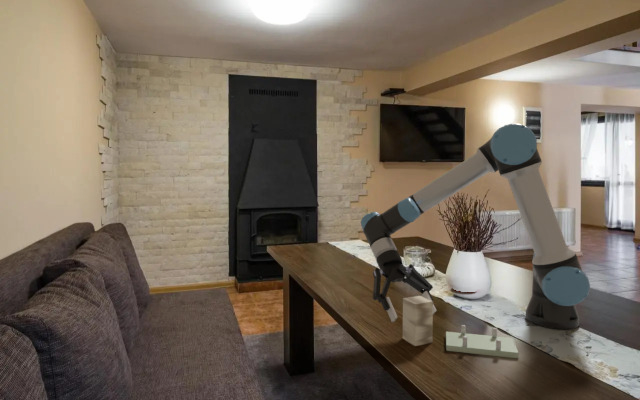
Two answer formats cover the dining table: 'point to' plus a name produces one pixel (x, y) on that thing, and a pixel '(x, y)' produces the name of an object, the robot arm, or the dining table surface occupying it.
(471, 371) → the dining table surface
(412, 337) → the tan block
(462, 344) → the peg board
